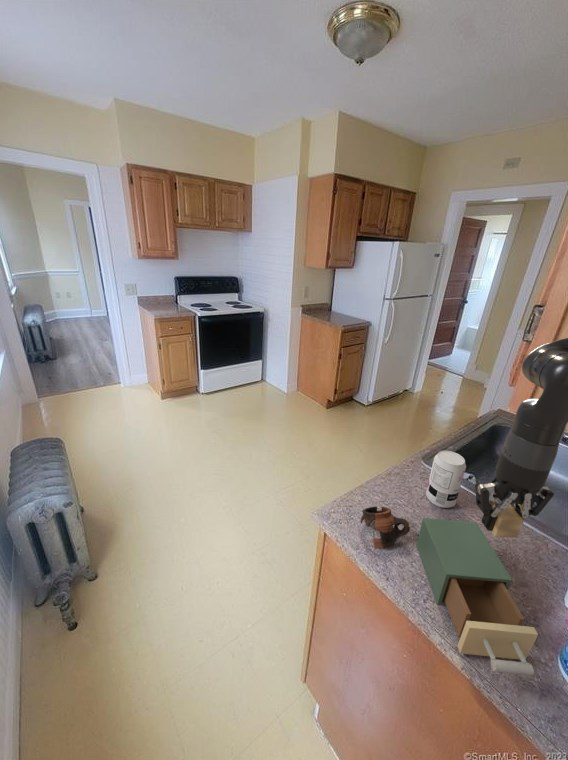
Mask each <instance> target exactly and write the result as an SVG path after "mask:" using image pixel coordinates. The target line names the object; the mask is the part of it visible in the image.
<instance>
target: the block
mask: <svg viewBox="0 0 568 760" xmlns="http://www.w3.org/2000/svg"><path fill="white" fill-rule="evenodd" d="M494 507H495V504H494V505H493V508H494ZM524 522H525V519H524V520H523V519H522V517H521V516H520V515H519V514H518V513H517V512H516V511H515V509H514V506H512V504H509V506H508V507H507V508H506V509H505V510H502V511H501V512H500V513H499V514H498V516H497V520H496V523H495V525H494V528H493V530H492V531H490V532H491V534H492V535H493V537H495V538H518V536H519V534H520V531H521V529H522V527H523V525H524Z"/></svg>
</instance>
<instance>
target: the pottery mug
mask: <svg viewBox="0 0 568 760" xmlns="http://www.w3.org/2000/svg"><path fill="white" fill-rule="evenodd" d="M363 522H364V524H365V526H366V527H367V528H370V526H371V524H372V523H373V522H374V528H375V530H376V531H377V532H378V533H379V537H380V538H373V539H372V542H373V547H374V549H375V548H376V549H390V548H393V547H394V546H395V545H396V541H397V540H398V539H399V538H401V537H404V536H407V535H408V533H409V532H410V530H411V527H410V523H409V521H408V520H407V519H405V518H402V517H397V516H394V514H392V509H391V508H390V507H386V506H381V508H380V509H379V510H378V506H370V507H366V508H364V509H363V510H362V515H361V517H360V524H362V523H363ZM400 525H403V528H401V529H400V528H399V526H400Z"/></svg>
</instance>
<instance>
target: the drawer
mask: <svg viewBox="0 0 568 760" xmlns="http://www.w3.org/2000/svg"><path fill="white" fill-rule="evenodd" d="M443 598H444V601H445V603H446V605H445V606H446V608H447V611H448V614H449V616H450V619H451V621H452V624H453V627H454V629H455V632H456V635H457V637H458V638H459V640H458V643H457V649H458V651H459V654H463V655H464V654H465V655H472V656H473V655H474V656H482V657H483V656H484V657H489V659H490V667H491V669H492V671H494V672H498V673H508V674H516V675H517V674H518V675H527V676H534V675H535V669H534V667H533V665H532V664H531V663H530V662H528V661H527V658H528V656H529V655H530V652H531V650H532V648H533V646H534V644H535V642H536V640H537V638H538V636H539V633H538V631H537V630H536V628H535V627H534V626H526V625H523V624H524V622H525V618H524V616H523V614H522V612H521V610H520V608H519V607H518V606H517V603H516V602H515V601H514V598H513V597H512V595H511V593H510V592H509V589H508V590H507V588H506V586H505V585H504V583H503V582H495V581H484V580H473V579H462V578H451V577H449V581H448V584H447V587H446V590H445V594H444V597H443ZM497 658H501V659H497ZM502 658H503V659H502ZM505 659H506V660H505ZM507 659H512V660H507ZM514 660H515V661H514ZM516 660H519V661H516Z"/></svg>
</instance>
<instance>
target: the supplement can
mask: <svg viewBox="0 0 568 760" xmlns="http://www.w3.org/2000/svg"><path fill="white" fill-rule="evenodd" d="M466 469H467V464H466V460H465V458H464V457H463V456H462V455H461V454H459V453H457V452H455V451H451V450H440V451H438V452H437V454H435V456H434V457H433V461H432V466H431V470H430V474H429V478H428V483H427V487H426V491H425V495H426V498H427V499H428V500H429V502H430V503H432V504H433V505H435V506H437V507H439V508H441V509H442V508H443V509H450V508H453V507H454V506H456V504H457V500H458V497H459V494H460V489H461V486H462V483H463V479H464V476H465V473H466Z"/></svg>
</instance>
